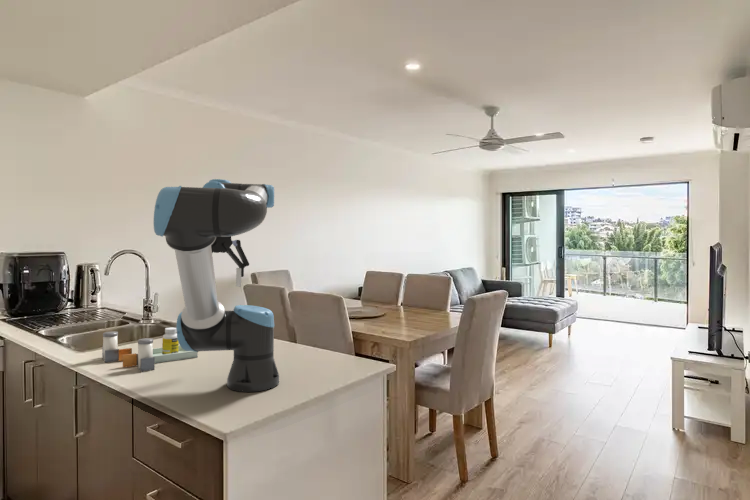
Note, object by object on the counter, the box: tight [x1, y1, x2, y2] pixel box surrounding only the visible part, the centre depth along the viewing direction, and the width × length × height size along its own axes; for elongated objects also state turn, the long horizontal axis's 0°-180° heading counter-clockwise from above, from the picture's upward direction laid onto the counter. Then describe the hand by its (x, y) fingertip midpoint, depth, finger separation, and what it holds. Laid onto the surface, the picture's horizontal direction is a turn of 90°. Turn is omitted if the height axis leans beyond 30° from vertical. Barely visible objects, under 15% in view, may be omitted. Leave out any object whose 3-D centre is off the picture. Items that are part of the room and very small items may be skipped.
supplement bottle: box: [162, 326, 180, 355], centre depth 165 cm, size 5×5×10 cm
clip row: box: [101, 345, 156, 372], centre depth 156 cm, size 26×12×4 cm, turn 37°
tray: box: [153, 344, 199, 364], centre depth 166 cm, size 12×16×2 cm
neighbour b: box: [102, 330, 119, 362], centre depth 161 cm, size 5×5×9 cm
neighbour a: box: [137, 337, 154, 370], centre depth 151 cm, size 5×5×9 cm
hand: (219, 287), depth 156 cm, fingers open, 13 cm apart
